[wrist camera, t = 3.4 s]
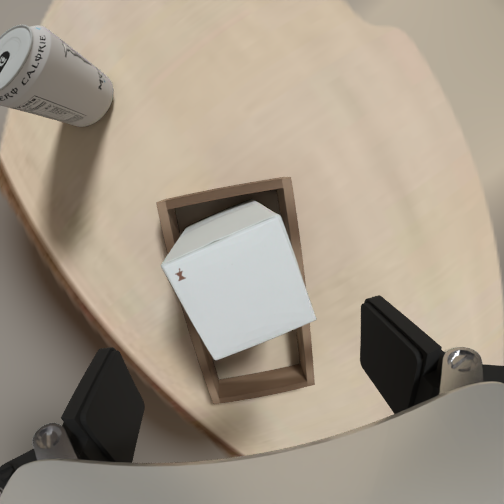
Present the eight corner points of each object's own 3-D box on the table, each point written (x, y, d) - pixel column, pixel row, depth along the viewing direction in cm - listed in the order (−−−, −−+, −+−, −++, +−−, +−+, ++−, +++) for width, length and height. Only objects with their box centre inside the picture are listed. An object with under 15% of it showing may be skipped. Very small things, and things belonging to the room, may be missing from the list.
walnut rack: (307, 367, 33) (314, 384, 30) (213, 385, 33) (213, 404, 29) (282, 177, 27) (290, 177, 24) (164, 199, 27) (156, 202, 24)
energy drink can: (128, 88, 24) (55, 26, 9) (94, 138, 25) (-2, 115, 10) (90, 67, 22) (12, 10, 8) (58, 113, 23) (-35, 86, 9)
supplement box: (214, 291, 30) (211, 364, 18) (184, 225, 28) (155, 263, 16) (281, 264, 30) (319, 322, 18) (255, 196, 28) (279, 211, 16)
